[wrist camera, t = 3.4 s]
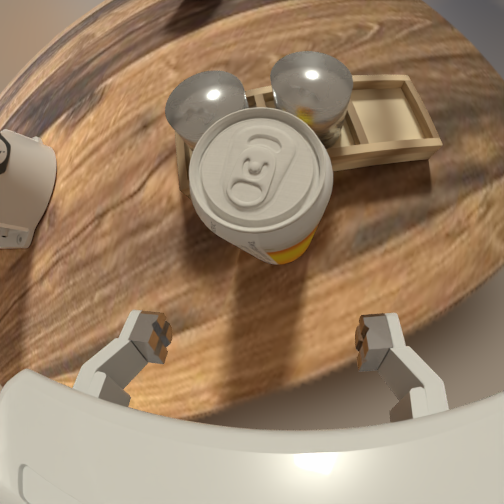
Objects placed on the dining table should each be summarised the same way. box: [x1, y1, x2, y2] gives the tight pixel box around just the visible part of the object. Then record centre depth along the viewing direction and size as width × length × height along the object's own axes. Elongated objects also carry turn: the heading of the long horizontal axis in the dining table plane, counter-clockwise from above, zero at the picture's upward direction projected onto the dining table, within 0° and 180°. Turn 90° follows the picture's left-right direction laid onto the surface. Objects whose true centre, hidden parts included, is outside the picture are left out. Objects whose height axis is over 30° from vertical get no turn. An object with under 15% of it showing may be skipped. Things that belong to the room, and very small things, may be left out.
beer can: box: [189, 107, 333, 265], centre depth 17 cm, size 6×6×15 cm
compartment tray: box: [175, 75, 442, 199], centre depth 23 cm, size 25×9×4 cm, turn 100°
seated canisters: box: [165, 51, 353, 152], centre depth 20 cm, size 14×6×7 cm, turn 100°
